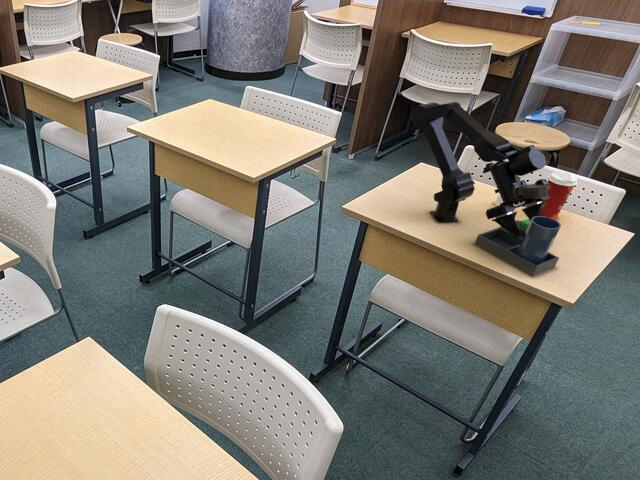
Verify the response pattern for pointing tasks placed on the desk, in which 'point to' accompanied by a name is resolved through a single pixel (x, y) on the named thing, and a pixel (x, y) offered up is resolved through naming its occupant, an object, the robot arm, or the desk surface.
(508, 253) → the divided tray
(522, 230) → the control block
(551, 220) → the tumbler
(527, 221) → the button
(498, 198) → the eraser
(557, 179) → the paper cup
